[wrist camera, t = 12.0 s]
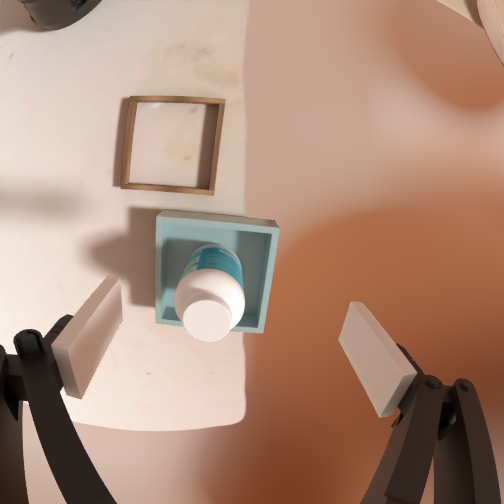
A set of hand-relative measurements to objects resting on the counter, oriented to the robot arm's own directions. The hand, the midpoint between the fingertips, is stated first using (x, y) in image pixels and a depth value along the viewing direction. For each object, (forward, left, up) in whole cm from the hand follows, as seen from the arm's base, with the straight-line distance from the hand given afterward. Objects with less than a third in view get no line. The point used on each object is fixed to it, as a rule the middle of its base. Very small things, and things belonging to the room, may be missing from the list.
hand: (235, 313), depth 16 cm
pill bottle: (-2, -7, -23) cm, 24 cm away
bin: (-2, -7, -24) cm, 25 cm away
